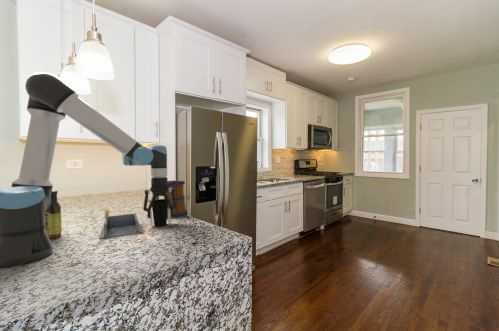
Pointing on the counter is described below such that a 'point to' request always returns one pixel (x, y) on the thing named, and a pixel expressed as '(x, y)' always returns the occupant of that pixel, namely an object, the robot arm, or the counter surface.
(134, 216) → the tray
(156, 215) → the cup
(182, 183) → the mug
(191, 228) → the counter surface
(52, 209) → the sauce bottle
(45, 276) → the counter surface
